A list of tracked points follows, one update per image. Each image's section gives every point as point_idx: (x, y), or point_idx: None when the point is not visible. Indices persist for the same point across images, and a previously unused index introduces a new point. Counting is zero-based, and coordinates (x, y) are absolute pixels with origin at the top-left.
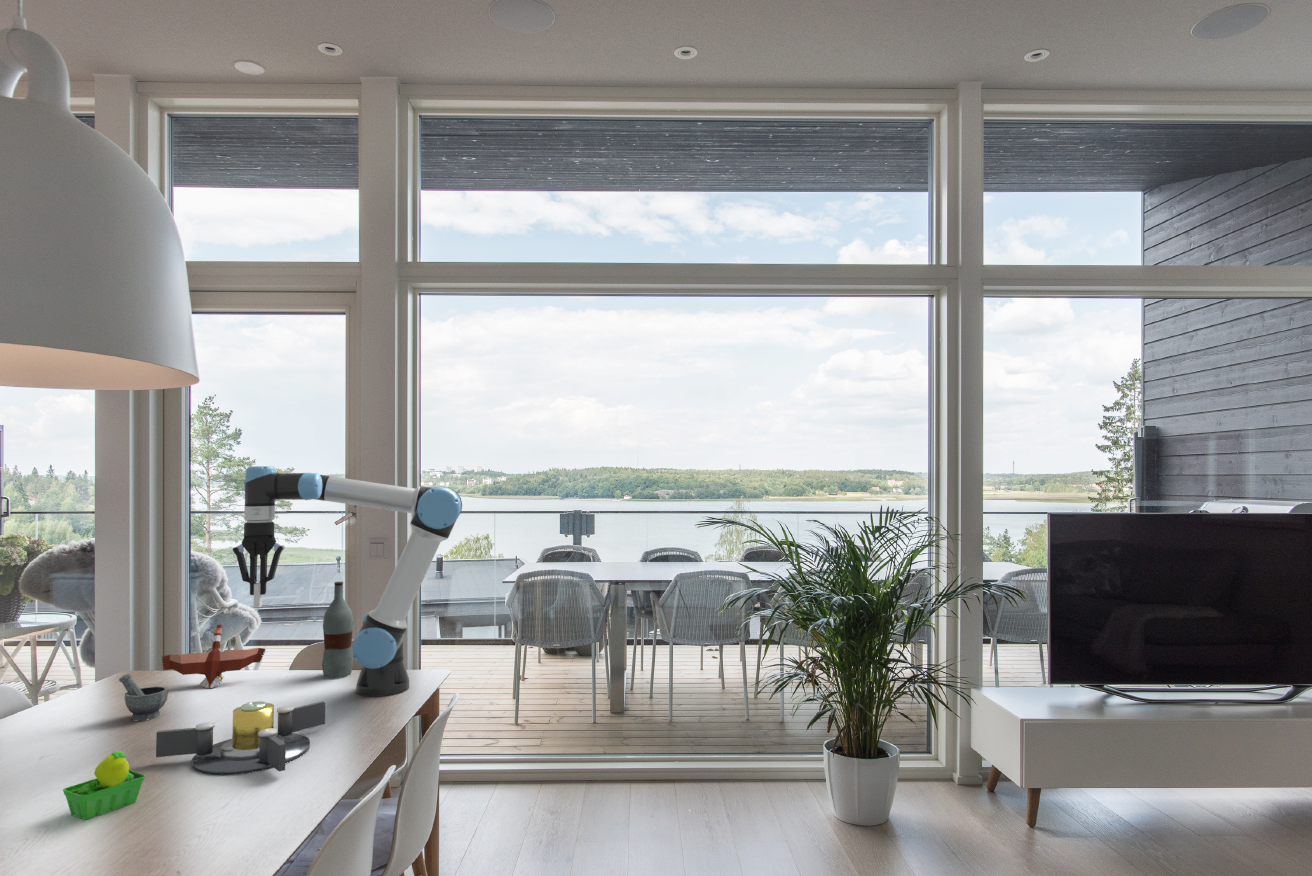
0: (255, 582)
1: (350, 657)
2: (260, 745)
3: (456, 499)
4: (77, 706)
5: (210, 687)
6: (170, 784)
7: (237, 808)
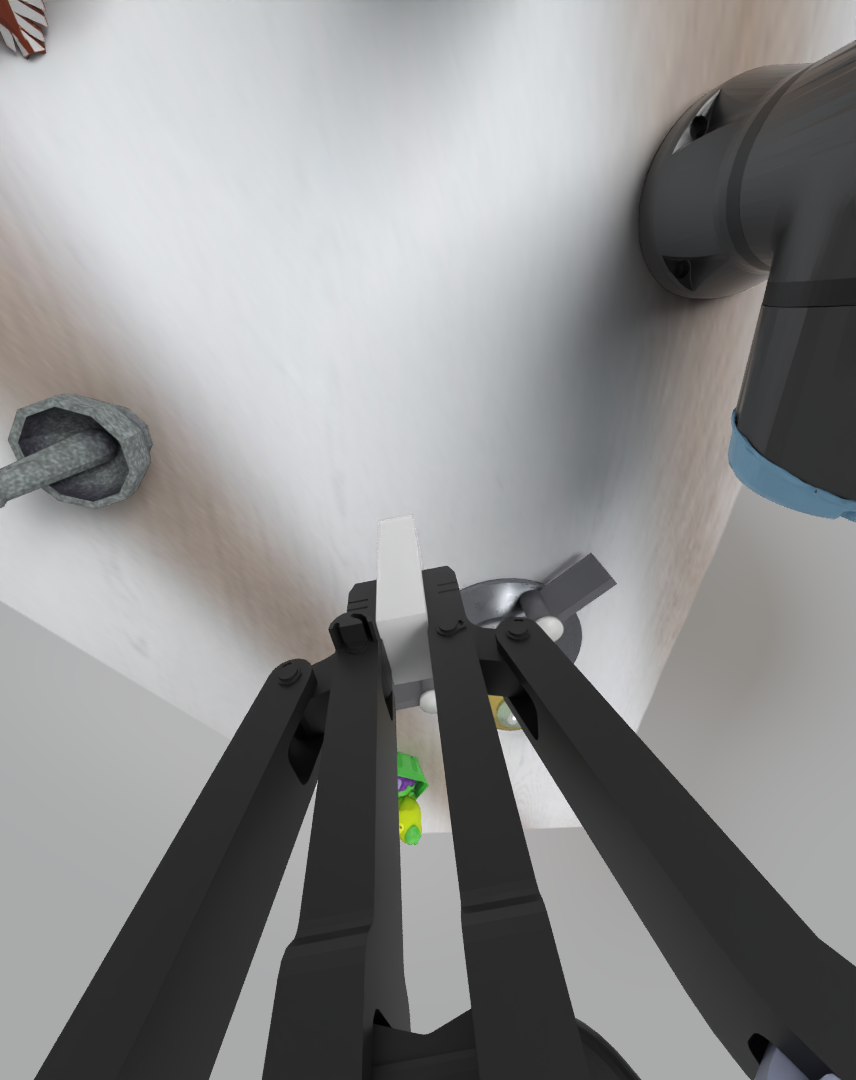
0: (387, 661)
1: None
2: None
3: None
4: None
5: (35, 50)
6: (429, 724)
7: (536, 765)
